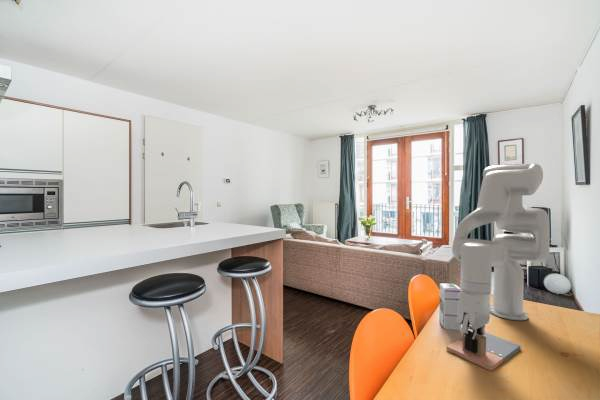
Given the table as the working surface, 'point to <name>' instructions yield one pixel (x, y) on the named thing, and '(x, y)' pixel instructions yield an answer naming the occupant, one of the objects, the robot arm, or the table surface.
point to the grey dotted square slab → (500, 346)
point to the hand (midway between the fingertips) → (474, 348)
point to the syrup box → (449, 306)
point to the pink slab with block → (480, 357)
